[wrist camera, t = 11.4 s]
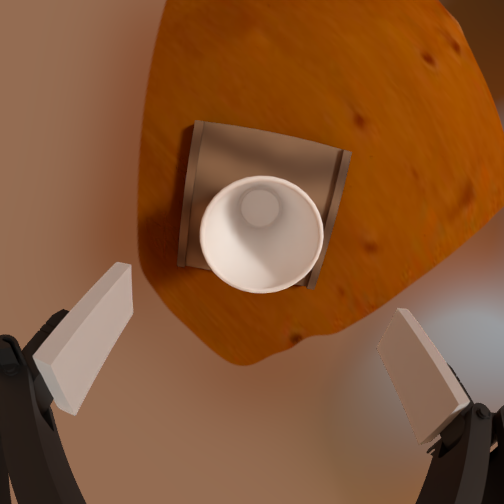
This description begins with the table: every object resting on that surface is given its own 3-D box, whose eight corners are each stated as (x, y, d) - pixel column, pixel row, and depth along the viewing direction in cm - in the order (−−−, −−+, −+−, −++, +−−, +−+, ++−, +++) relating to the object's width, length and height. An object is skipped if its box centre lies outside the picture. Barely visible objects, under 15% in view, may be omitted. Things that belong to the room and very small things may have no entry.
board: (198, 121, 29) (195, 120, 27) (346, 151, 30) (351, 152, 28) (180, 259, 36) (176, 266, 34) (311, 281, 37) (314, 289, 35)
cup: (207, 231, 33) (185, 272, 23) (233, 153, 29) (221, 157, 19) (283, 257, 34) (294, 307, 24) (315, 183, 30) (343, 204, 20)
